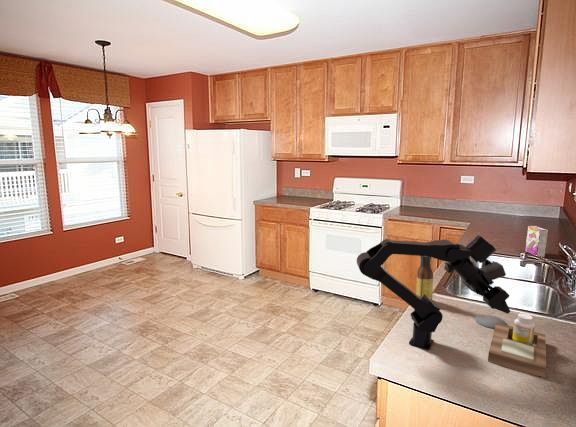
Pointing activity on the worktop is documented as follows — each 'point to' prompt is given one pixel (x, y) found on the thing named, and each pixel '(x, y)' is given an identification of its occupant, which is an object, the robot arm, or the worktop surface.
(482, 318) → the rubber mat
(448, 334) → the worktop surface
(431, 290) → the sauce bottle
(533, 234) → the candy bar box
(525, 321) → the supplement bottle
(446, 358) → the worktop surface
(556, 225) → the worktop surface
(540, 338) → the puzzle board
